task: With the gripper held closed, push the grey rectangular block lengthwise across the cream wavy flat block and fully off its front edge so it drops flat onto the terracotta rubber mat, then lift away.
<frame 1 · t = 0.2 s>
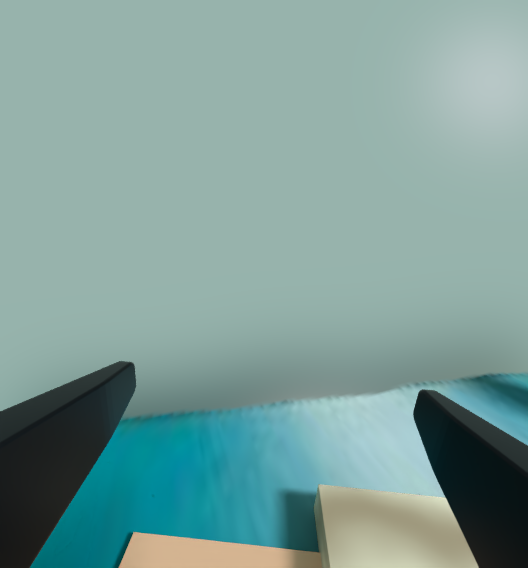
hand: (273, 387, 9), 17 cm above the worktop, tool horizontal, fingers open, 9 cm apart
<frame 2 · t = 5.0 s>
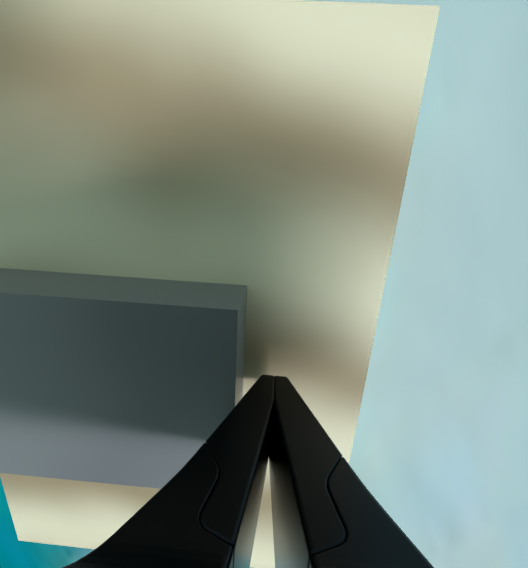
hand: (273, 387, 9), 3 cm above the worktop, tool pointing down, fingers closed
grey rectangular block: (113, 359, 9), point 3 cm above the worktop, touching cream wavy flat block, gripper
cream wavy flat block: (183, 330, 12), on the worktop
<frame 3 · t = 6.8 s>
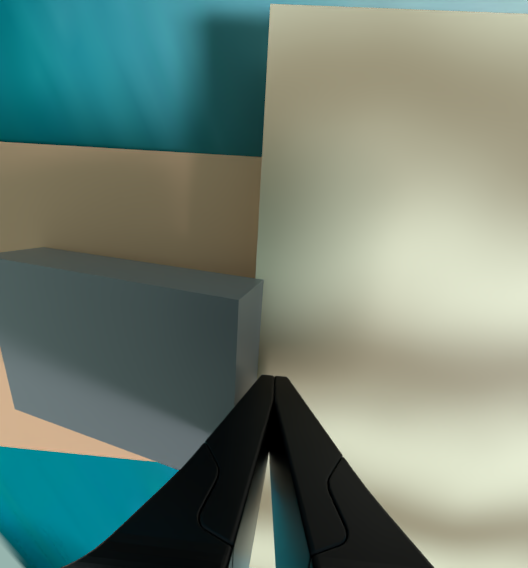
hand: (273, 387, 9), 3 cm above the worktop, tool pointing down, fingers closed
mat: (113, 325, 12), on the worktop
grey rectangular block: (144, 339, 10), point 1 cm above the worktop, tilted 14°, touching cream wavy flat block, mat
cream wavy flat block: (423, 351, 11), on the worktop
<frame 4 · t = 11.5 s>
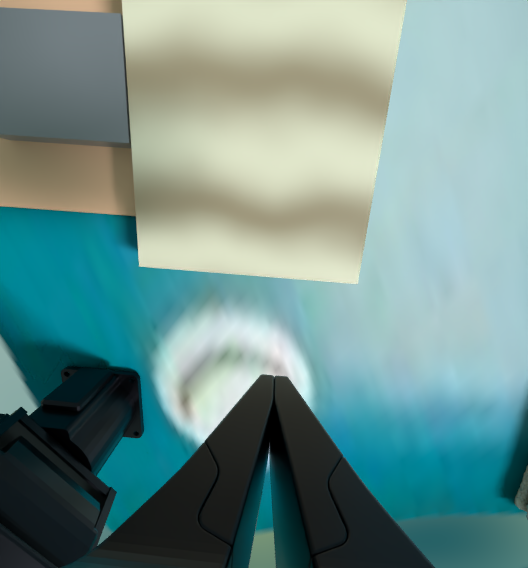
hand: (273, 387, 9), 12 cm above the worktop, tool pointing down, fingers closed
mat: (52, 97, 17), on the worktop
grey rectangular block: (71, 91, 17), resting on mat
cream wavy flat block: (259, 109, 17), on the worktop
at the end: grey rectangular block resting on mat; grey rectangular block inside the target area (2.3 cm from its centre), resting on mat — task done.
